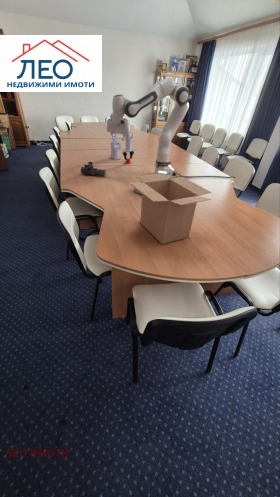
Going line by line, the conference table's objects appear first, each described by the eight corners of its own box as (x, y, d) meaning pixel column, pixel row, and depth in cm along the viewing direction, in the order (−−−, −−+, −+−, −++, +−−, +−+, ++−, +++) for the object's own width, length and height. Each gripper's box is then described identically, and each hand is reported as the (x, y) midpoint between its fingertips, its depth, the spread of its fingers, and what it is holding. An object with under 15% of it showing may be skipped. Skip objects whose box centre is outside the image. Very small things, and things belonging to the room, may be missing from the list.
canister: (131, 163, 238) (131, 159, 236) (127, 164, 236) (127, 159, 233) (128, 162, 241) (128, 157, 238) (124, 163, 239) (125, 158, 236)
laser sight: (103, 178, 196) (102, 166, 190) (79, 175, 199) (78, 163, 193) (106, 175, 204) (106, 163, 198) (83, 172, 206) (82, 160, 201)
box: (210, 242, 124) (224, 196, 108) (157, 258, 109) (164, 208, 93) (167, 209, 154) (173, 169, 138) (121, 218, 140) (121, 175, 123)
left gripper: (125, 146, 222) (125, 161, 230) (136, 145, 230) (135, 159, 238) (121, 145, 226) (121, 159, 234) (131, 144, 234) (131, 157, 242)
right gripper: (104, 118, 172) (105, 138, 180) (127, 121, 165) (126, 142, 173) (109, 118, 176) (109, 137, 185) (131, 121, 169) (130, 140, 177)
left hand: (128, 159), depth 236 cm, fingers open, 7 cm apart
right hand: (118, 139), depth 179 cm, fingers open, 8 cm apart
